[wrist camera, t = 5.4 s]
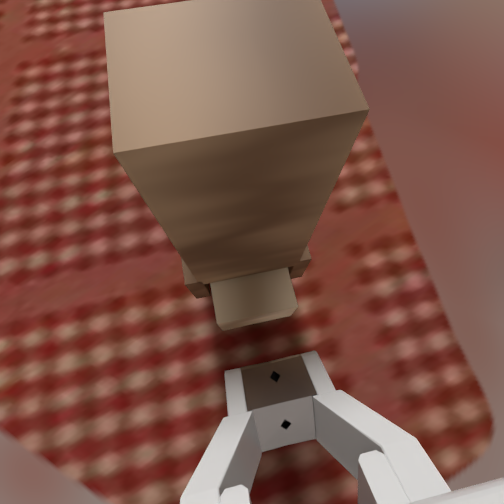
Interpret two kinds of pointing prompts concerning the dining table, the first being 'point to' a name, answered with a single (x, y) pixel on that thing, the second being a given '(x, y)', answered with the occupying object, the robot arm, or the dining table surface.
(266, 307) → the seesaw
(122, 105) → the plate
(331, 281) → the dining table surface
